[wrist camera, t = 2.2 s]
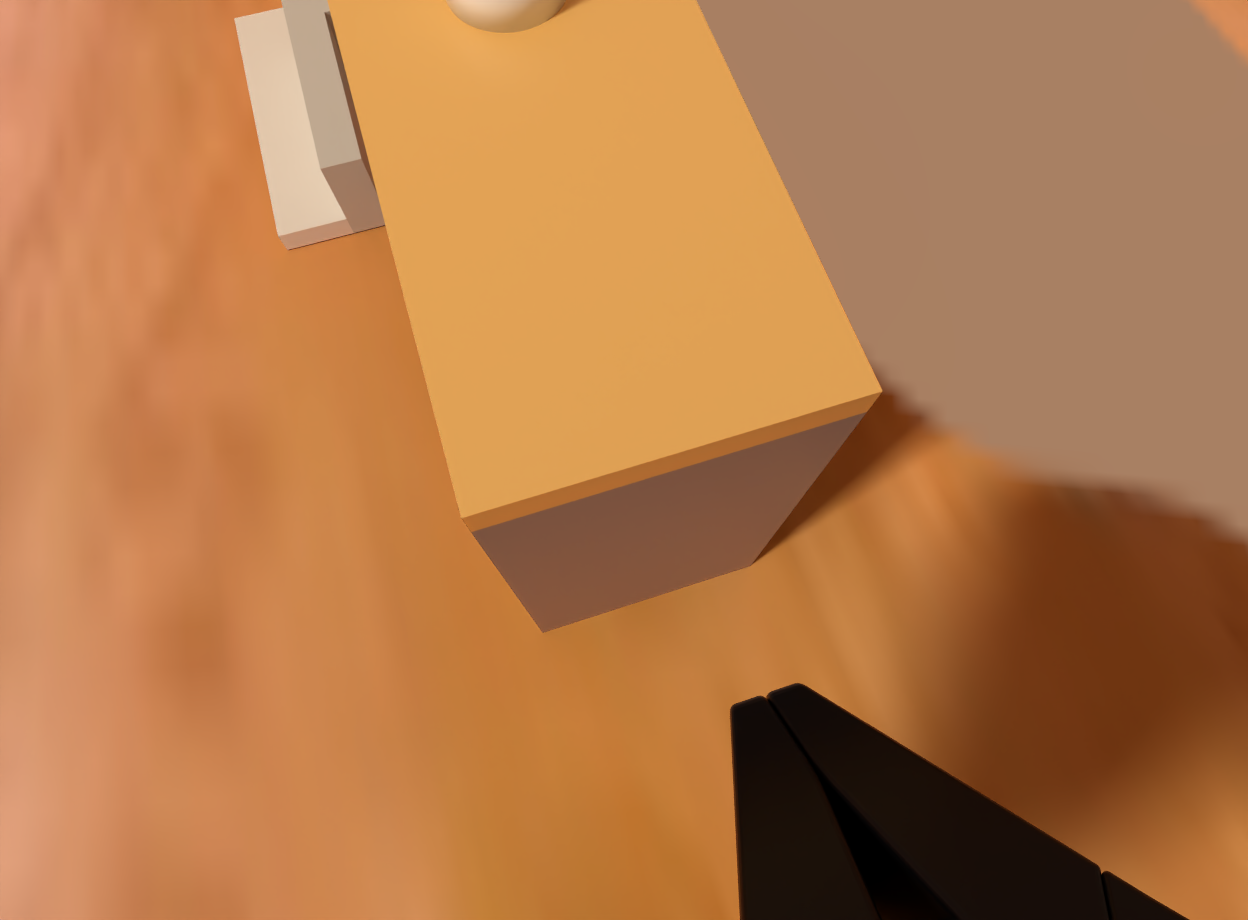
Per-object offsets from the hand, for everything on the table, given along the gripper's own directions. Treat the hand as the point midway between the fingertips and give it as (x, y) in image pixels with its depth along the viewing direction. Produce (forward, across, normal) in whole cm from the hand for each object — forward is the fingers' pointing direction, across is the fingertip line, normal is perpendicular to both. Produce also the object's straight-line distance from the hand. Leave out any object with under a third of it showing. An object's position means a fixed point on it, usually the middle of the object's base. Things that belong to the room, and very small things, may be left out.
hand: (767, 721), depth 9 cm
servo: (+12, 0, 0) cm, 12 cm away
